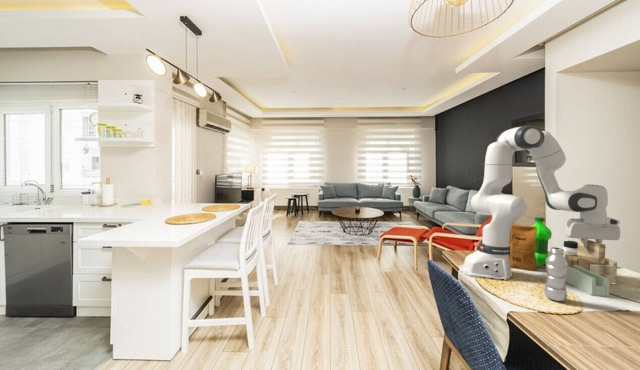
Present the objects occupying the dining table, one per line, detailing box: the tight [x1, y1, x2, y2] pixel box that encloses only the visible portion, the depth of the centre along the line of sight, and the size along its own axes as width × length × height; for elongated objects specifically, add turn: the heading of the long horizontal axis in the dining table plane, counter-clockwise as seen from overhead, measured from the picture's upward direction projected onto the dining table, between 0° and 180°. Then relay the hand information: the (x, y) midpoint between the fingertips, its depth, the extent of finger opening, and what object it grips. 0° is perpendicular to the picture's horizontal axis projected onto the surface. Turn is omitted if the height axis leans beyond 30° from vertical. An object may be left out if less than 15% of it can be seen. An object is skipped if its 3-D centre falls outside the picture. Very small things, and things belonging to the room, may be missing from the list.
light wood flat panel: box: [577, 238, 606, 265], centre depth 126 cm, size 2×12×15 cm, turn 171°
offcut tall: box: [578, 259, 597, 271], centre depth 124 cm, size 3×6×8 cm, turn 171°
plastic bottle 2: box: [543, 246, 568, 302], centre depth 103 cm, size 6×7×20 cm
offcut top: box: [569, 256, 583, 264], centre depth 130 cm, size 3×4×3 cm
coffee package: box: [509, 223, 537, 271], centre depth 139 cm, size 10×12×22 cm
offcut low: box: [568, 261, 578, 268], centre depth 131 cm, size 3×5×5 cm, turn 171°
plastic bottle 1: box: [531, 216, 552, 266], centre depth 144 cm, size 10×10×25 cm
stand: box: [565, 265, 611, 297], centre depth 115 cm, size 6×17×7 cm, turn 171°
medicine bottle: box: [560, 239, 578, 254], centre depth 145 cm, size 7×7×12 cm
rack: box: [563, 253, 618, 284], centre depth 126 cm, size 10×18×10 cm, turn 171°
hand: (590, 248), depth 126 cm, fingers closed on light wood flat panel, 2 cm apart
